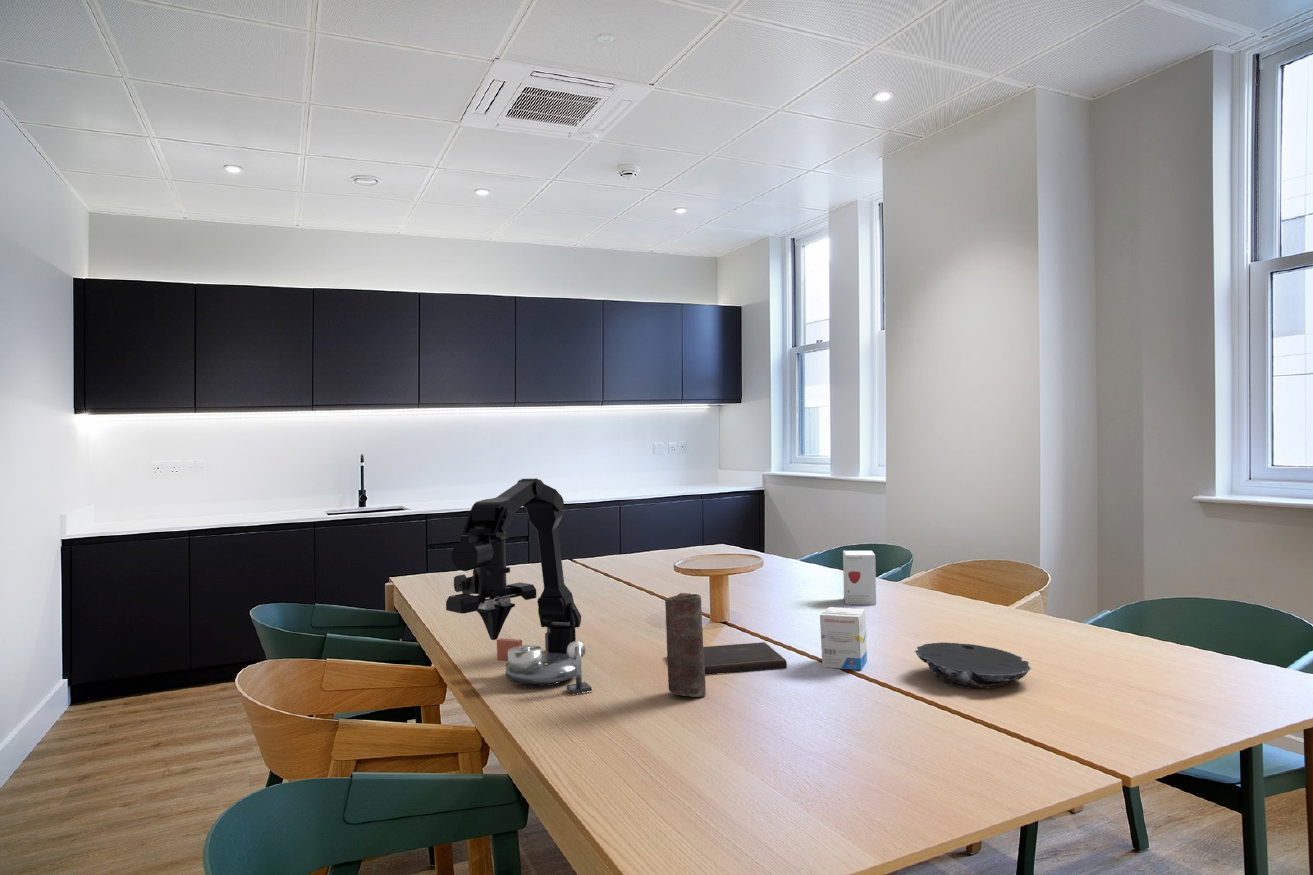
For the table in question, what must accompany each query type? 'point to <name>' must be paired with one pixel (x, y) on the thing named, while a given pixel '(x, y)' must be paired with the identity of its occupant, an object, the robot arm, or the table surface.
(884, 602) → the table surface
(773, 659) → the hardcover book
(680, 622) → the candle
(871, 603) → the supplement box
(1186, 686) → the table surface
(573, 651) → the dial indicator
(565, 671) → the turntable
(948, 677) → the dark grey flat disc
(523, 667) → the cover
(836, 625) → the ink box
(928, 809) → the table surface
